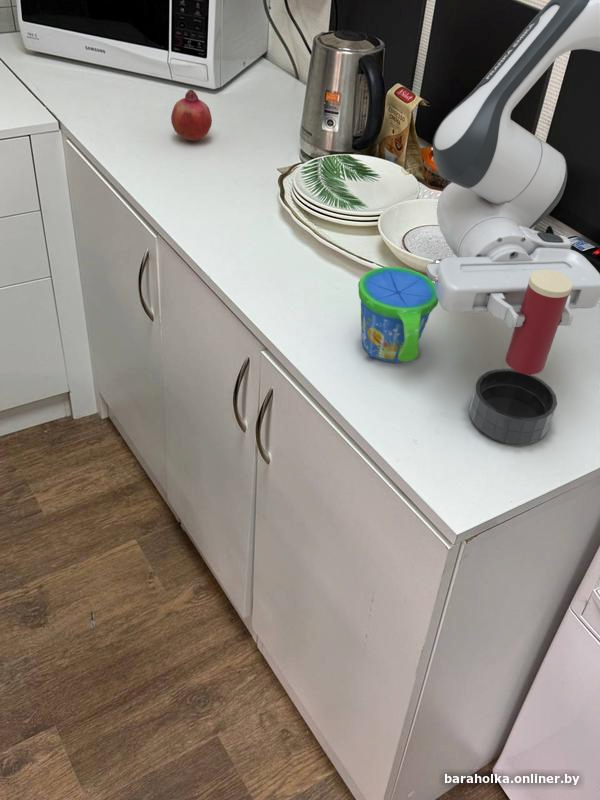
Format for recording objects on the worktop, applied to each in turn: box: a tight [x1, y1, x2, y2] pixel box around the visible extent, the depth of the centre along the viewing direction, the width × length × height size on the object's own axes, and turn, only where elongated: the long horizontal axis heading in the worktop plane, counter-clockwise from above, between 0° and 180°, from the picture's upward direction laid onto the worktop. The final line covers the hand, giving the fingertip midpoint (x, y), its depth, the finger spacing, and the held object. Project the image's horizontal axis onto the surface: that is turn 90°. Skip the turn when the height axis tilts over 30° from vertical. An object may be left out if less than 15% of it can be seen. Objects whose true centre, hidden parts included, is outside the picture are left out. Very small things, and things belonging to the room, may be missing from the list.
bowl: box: [468, 368, 558, 446], centre depth 101 cm, size 10×10×4 cm
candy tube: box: [505, 270, 572, 375], centre depth 93 cm, size 5×5×12 cm
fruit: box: [170, 88, 213, 142], centre depth 160 cm, size 8×8×10 cm
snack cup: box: [357, 266, 439, 363], centre depth 109 cm, size 16×10×10 cm
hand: (542, 322), depth 92 cm, fingers closed on candy tube, 4 cm apart
